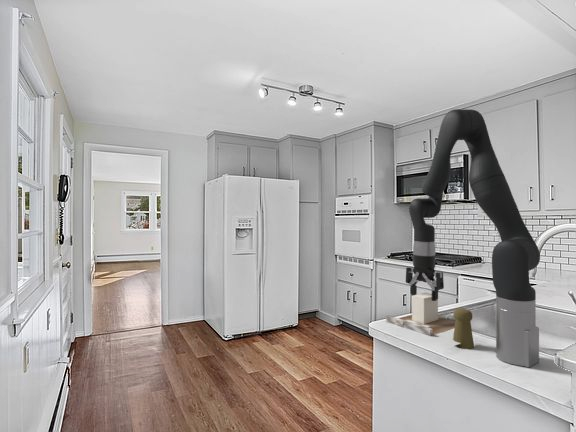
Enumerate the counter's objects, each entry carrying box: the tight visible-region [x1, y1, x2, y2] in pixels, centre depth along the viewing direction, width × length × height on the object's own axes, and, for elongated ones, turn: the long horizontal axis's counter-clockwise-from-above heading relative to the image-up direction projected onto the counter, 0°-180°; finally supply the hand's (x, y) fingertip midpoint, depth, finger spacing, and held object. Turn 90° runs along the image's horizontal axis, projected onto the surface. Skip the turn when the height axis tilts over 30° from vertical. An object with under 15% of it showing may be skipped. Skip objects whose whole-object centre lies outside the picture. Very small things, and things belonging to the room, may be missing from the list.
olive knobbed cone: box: [452, 308, 475, 350], centre depth 109 cm, size 6×6×11 cm
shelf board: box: [385, 314, 456, 337], centre depth 126 cm, size 18×20×4 cm
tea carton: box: [411, 292, 439, 324], centre depth 129 cm, size 8×5×9 cm, turn 123°
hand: (423, 298), depth 129 cm, fingers open, 8 cm apart
